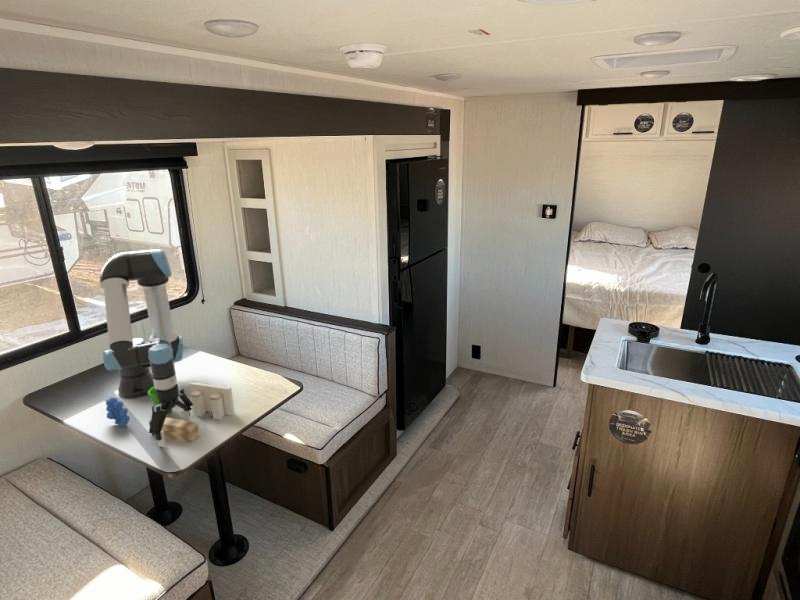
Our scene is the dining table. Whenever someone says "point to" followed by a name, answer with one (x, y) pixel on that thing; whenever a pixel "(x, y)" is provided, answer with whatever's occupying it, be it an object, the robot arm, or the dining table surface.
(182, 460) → the dining table surface
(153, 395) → the cup
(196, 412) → the headboard
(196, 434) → the block
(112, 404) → the grapes
